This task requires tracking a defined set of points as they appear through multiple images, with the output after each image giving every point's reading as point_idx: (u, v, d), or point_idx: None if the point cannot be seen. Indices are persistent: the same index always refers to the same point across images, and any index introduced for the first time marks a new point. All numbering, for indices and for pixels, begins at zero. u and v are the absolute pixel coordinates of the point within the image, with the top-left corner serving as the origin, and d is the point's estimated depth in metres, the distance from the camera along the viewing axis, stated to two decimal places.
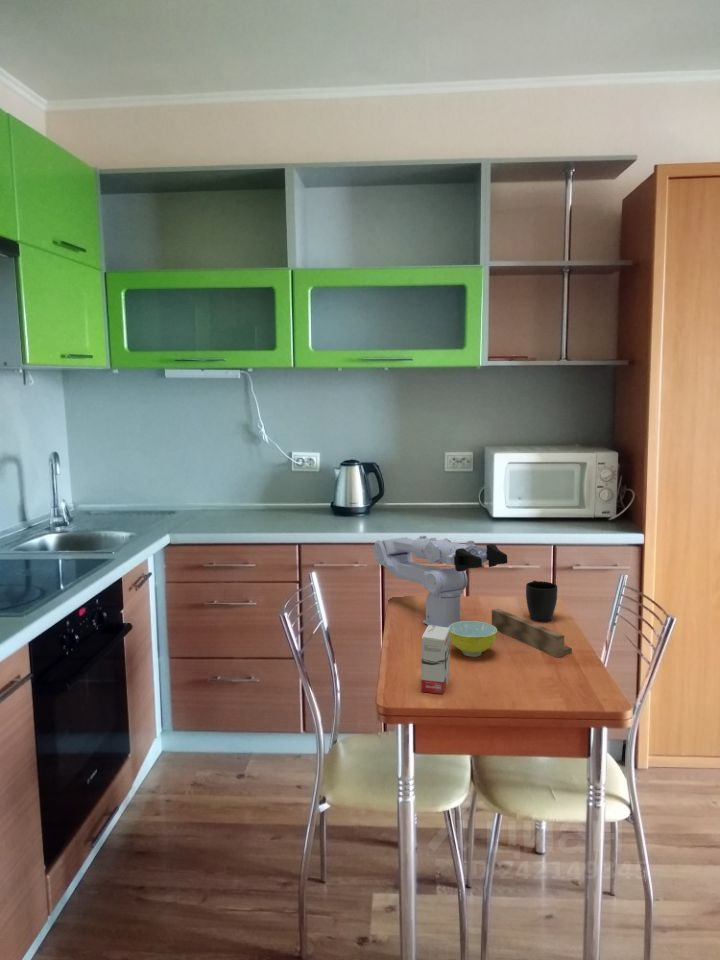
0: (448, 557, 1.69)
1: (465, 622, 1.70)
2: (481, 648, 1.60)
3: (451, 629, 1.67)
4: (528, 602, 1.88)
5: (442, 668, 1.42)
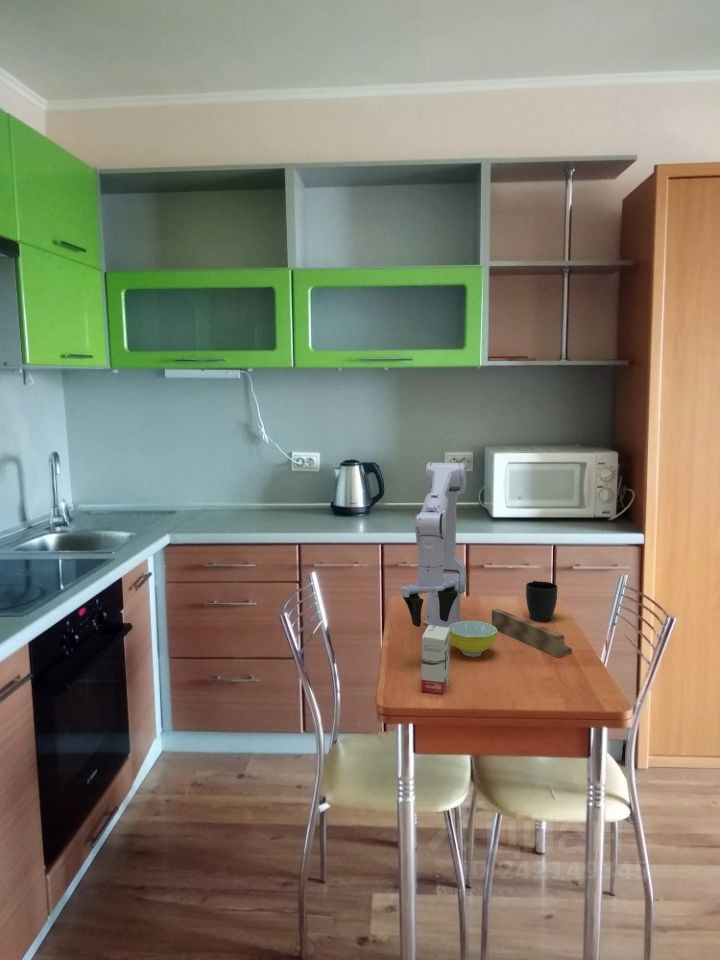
0: (405, 593, 1.53)
1: (465, 622, 1.70)
2: (481, 648, 1.60)
3: (451, 629, 1.67)
4: (528, 602, 1.88)
5: (442, 668, 1.42)
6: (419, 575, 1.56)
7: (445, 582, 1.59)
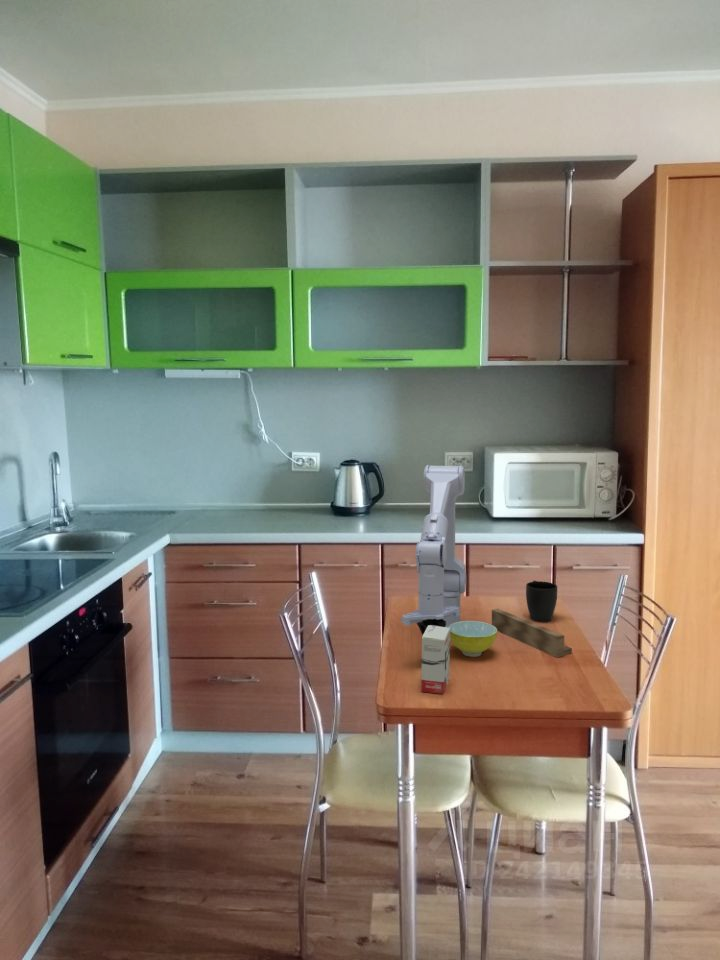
0: (405, 621, 1.54)
1: (465, 622, 1.70)
2: (481, 648, 1.60)
3: (451, 629, 1.67)
4: (528, 602, 1.88)
5: (442, 668, 1.42)
6: (420, 603, 1.57)
7: (445, 610, 1.60)
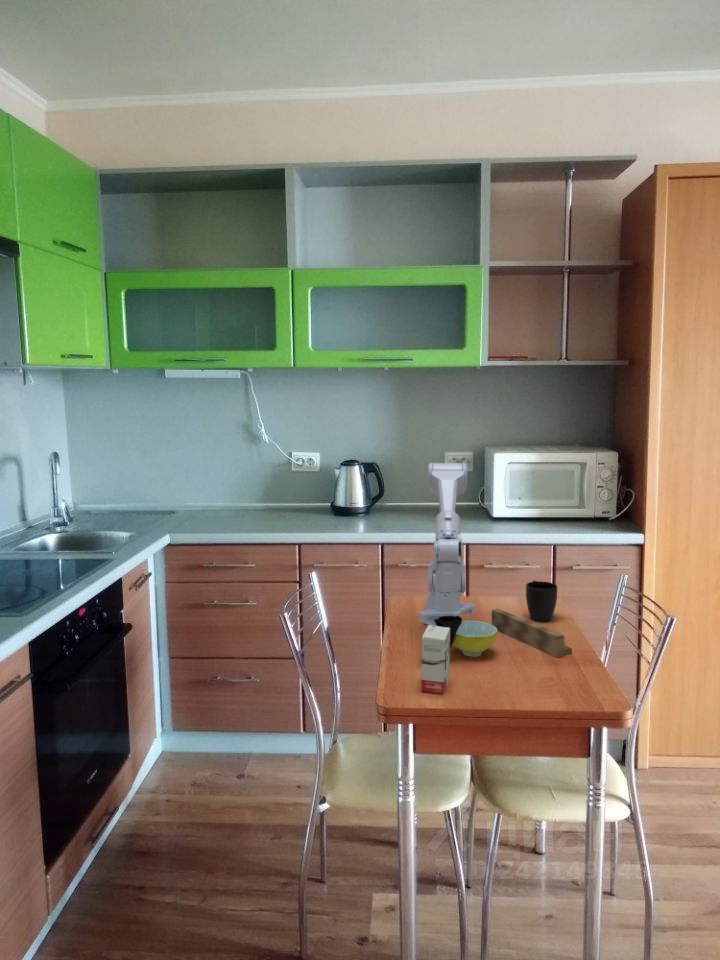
0: (423, 618, 1.56)
1: (465, 622, 1.70)
2: (481, 648, 1.60)
3: None
4: (528, 602, 1.88)
5: (442, 668, 1.42)
6: (437, 600, 1.59)
7: (462, 607, 1.62)
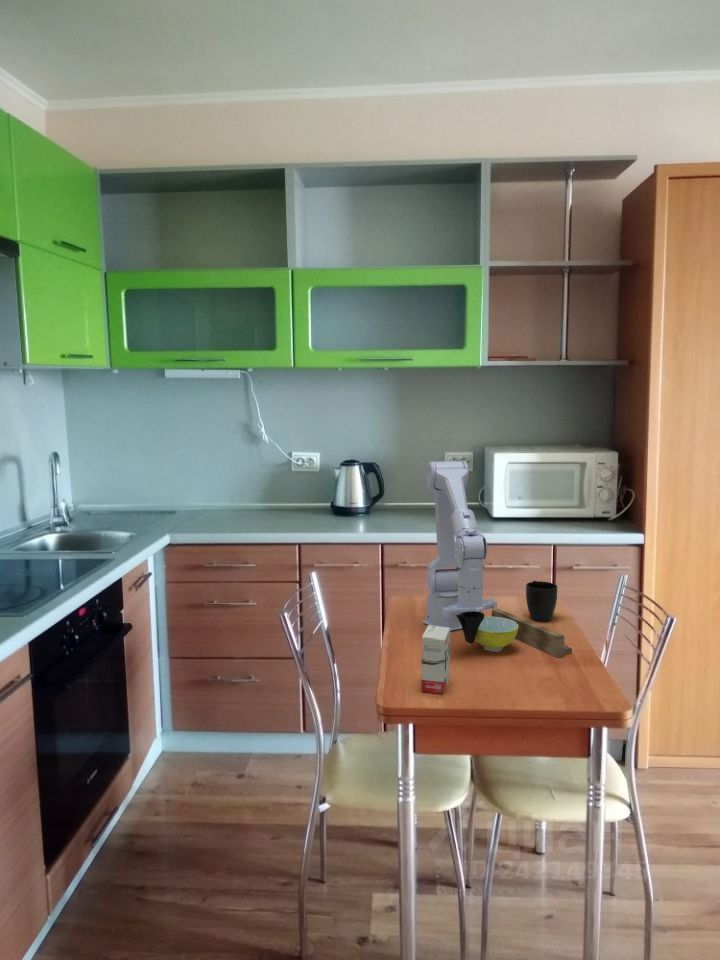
0: (446, 614, 1.59)
1: (486, 618, 1.73)
2: (503, 643, 1.63)
3: None
4: (528, 602, 1.88)
5: (442, 668, 1.42)
6: (459, 596, 1.62)
7: (484, 602, 1.65)
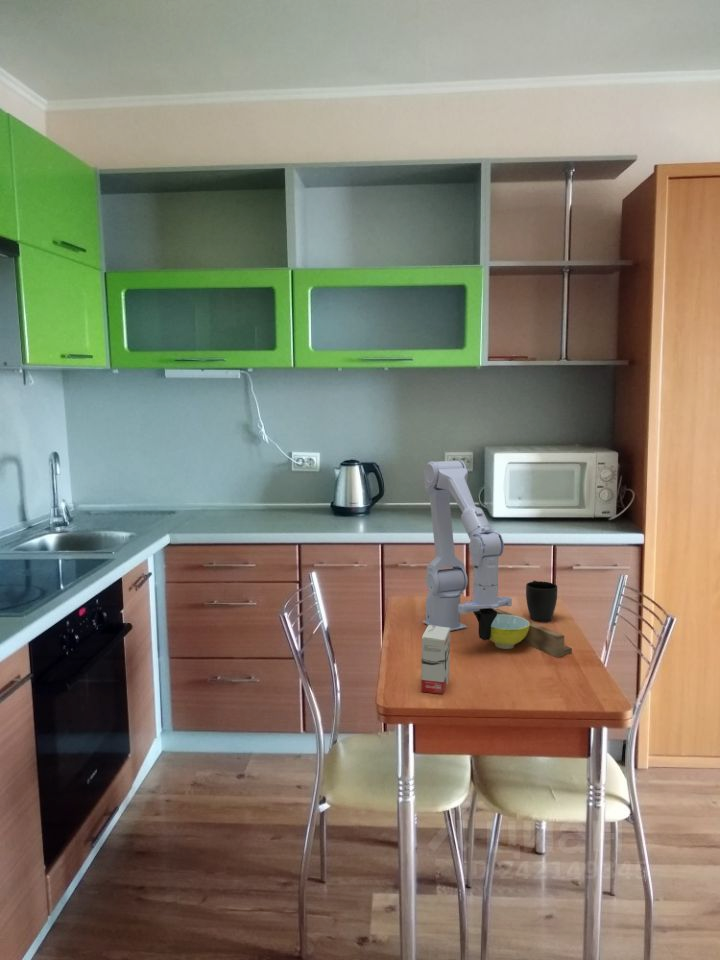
0: (462, 610, 1.61)
1: (497, 615, 1.74)
2: (515, 640, 1.65)
3: None
4: (528, 602, 1.88)
5: (442, 668, 1.42)
6: (475, 593, 1.64)
7: (499, 600, 1.67)
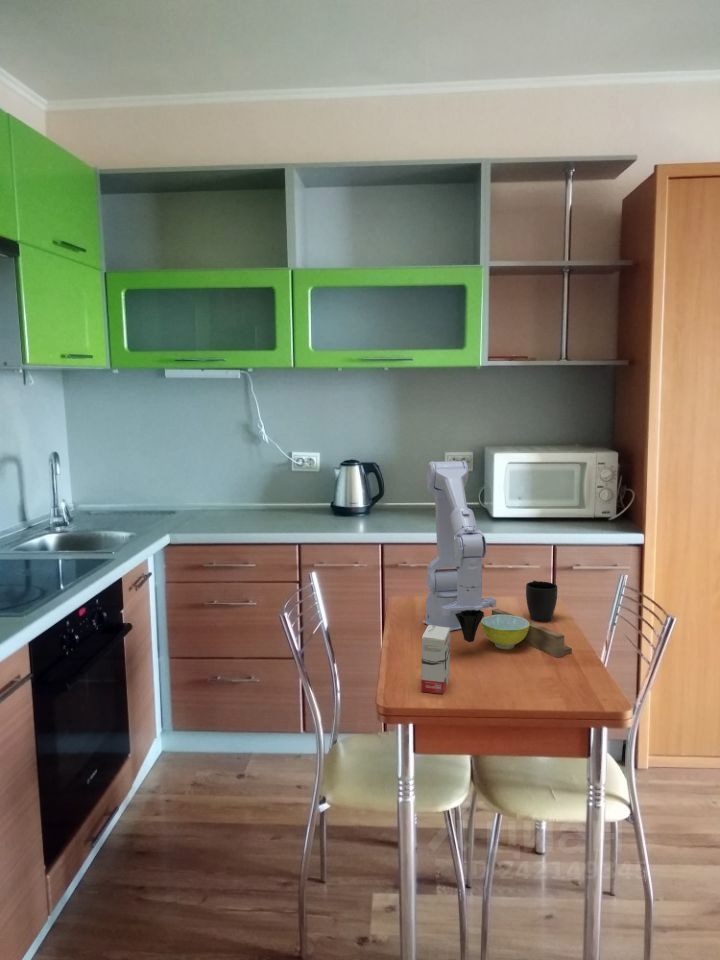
0: (445, 612, 1.59)
1: (497, 616, 1.74)
2: (514, 641, 1.65)
3: (484, 622, 1.71)
4: (528, 602, 1.88)
5: (442, 668, 1.42)
6: (459, 595, 1.62)
7: (483, 601, 1.65)
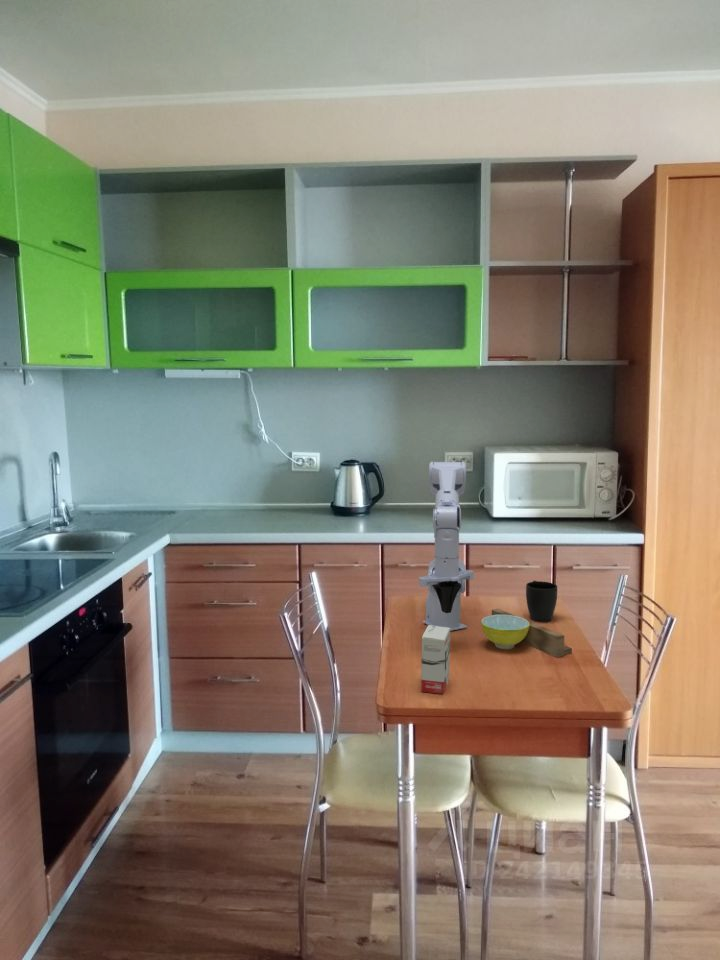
0: (422, 583, 1.61)
1: (497, 616, 1.74)
2: (514, 641, 1.65)
3: (484, 623, 1.71)
4: (528, 602, 1.88)
5: (442, 668, 1.42)
6: (436, 566, 1.64)
7: (460, 573, 1.67)
